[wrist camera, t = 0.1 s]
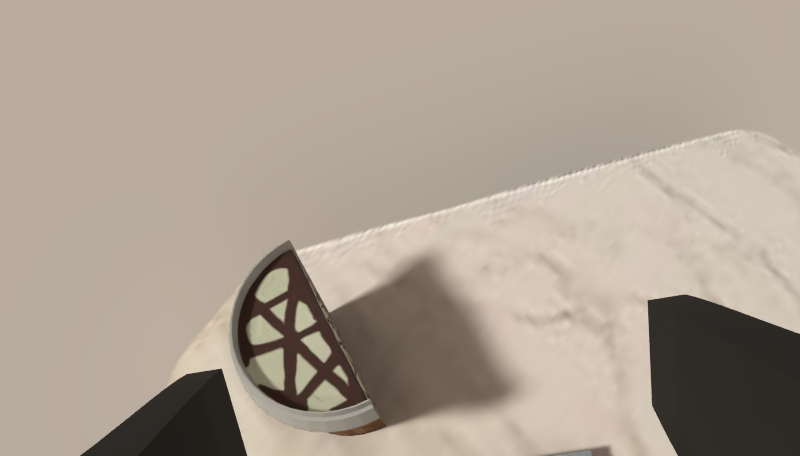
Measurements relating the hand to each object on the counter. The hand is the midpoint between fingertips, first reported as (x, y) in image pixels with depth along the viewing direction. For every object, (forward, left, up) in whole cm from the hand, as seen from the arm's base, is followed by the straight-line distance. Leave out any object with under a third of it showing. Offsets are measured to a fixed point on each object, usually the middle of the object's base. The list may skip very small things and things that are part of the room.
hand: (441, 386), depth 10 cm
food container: (+10, +9, -32) cm, 35 cm away
